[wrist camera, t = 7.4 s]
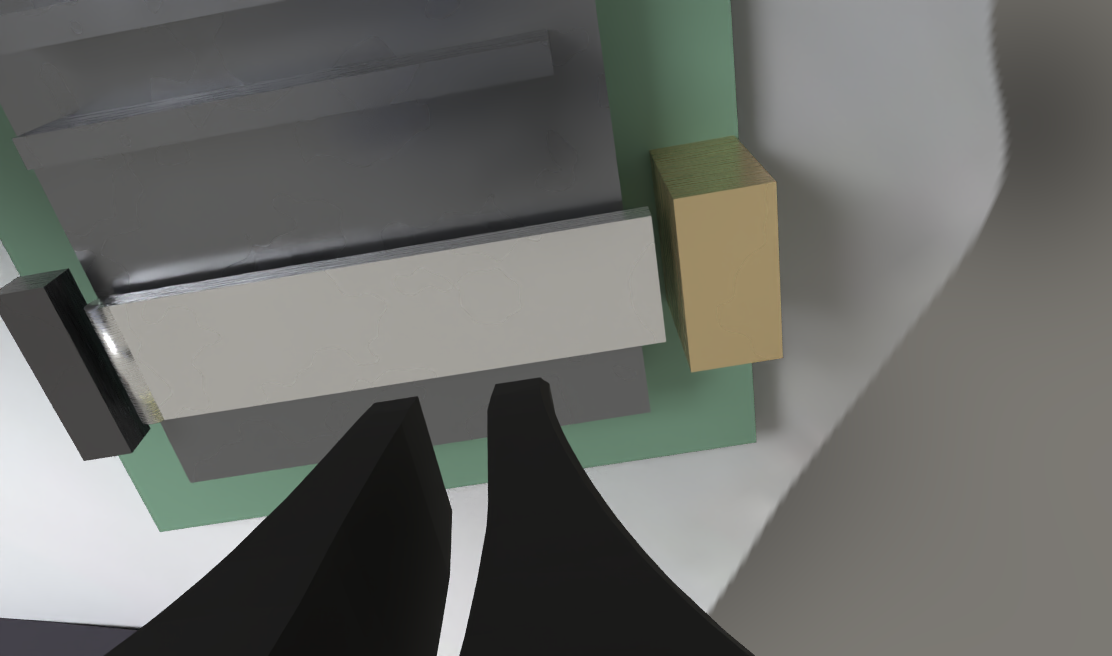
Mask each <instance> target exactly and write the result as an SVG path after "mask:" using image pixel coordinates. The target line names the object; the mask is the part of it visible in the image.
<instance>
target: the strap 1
mask: <svg viewBox="0 0 1112 656" xmlns="http://www.w3.org/2000/svg"><path fill="white" fill-rule="evenodd" d="M84 310H85V312H86V314H87V316H88V318H89V320H90V322H91V324H92V326H93V328H94V330H95V332H96V334H97V336H98V338H99V339H100V341H101V343H102V345H103V347H104V349H105V351H106V353H107V355H108V357H109V359H110V361H111V363H112V365H113V367H114V369H115V371H116V373H117V374H118V376H119V378H120V380H121V382H122V384H123V386H124V388H125V390H126V392H127V394H128V396H129V398H130V400H131V402H132V404H133V406H134V408H135V410H136V411H137V413H138V415H139V417H140V419H141V421H142V423H143V424H148V425H149V424H155V423H159V422H161V421H164V420H168V419H175V418H181V417H187V416H194V415H200V414H207V413H213V412H219V411H226V410H232V409H239V408H245V407H252V406H258V405H264V404H271V403H277V402H284V401H290V400H296V399H303V398H309V397H316V396H322V395H329V394H335V393H341V392H348V391H354V390H361V389H367V388H373V387H380V386H386V385H393V384H399V383H405V382H412V381H418V380H425V379H431V378H438V377H444V376H450V375H457V374H463V373H470V372H476V371H482V370H489V369H495V368H502V367H508V366H514V365H521V364H527V363H534V362H540V361H547V360H553V359H559V358H566V357H572V356H579V355H585V354H591V353H598V352H604V351H611V350H617V349H624V348H630V347H636V346H643V345H649V344H656V343H662V342H666V336H665V327H664V319H663V310H662V302H661V293H660V285H659V277H658V268H657V260H656V251H655V243H654V234H653V226H652V217H651V214H650V211H649V208H648V206H646V207H640V208H634V209H628V210H622V211H616V212H610V213H604V214H598V215H592V216H586V217H581V218H575V219H569V220H563V221H557V222H551V223H545V224H539V225H533V226H527V227H521V228H515V229H509V230H503V231H497V232H491V233H485V234H479V235H473V236H467V237H461V238H455V239H449V240H443V241H437V242H431V243H425V244H419V245H413V246H407V247H401V248H395V249H389V250H383V251H378V252H372V253H366V254H360V255H354V256H348V257H342V258H336V259H330V260H324V261H318V262H312V263H306V264H300V265H294V266H288V267H282V268H276V269H270V270H264V271H258V272H252V273H246V274H240V275H234V276H228V277H222V278H216V279H210V280H204V281H198V282H192V283H186V284H180V285H174V286H169V287H163V288H157V289H151V290H145V291H139V292H133V293H127V294H112V295H107V296H104V297H101V298H98V299H96V300H94V301H92V302H90V303H88V304H87V305H86V306H85V307H84Z"/></svg>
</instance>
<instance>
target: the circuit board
mask: <svg viewBox="0 0 1112 656" xmlns="http://www.w3.org/2000/svg"><path fill="white" fill-rule="evenodd" d="M595 4H596V11H597V19H598V26H599V34H600V41H601V48H602V56H603V63H604V70H605V78H606V85H607V93H608V100H609V107H610V115H611V122H612V130H613V137H614V144H615V152H616V159H617V166H618V174H619V181H620V189H621V196H622V203H623V210H628V209H634V208H640V207H646V206H648V208H649V211H650V214H651V217H652V226H653V234H654V243H655V251H656V260H657V268H658V277H659V285H660V293H661V302H662V310H663V319H664V327H665V336H666V342H662V343H656V344H649V345H643V346H642V351H643V358H644V366H645V373H646V380H647V388H648V395H649V403H650V410H651V412H649V413H642V414H636V415H629V416H623V417H616V418H610V419H603V420H597V421H590V422H584V423H577V424H571V425H564V426H561V428H562V431H563V433H564V435H565V437H566V439H567V441H568V442H569V444H570V446H571V448H572V450H573V451H574V453H575V455H576V457H577V458H578V460H579V462H580V464H581V466H582V467H583V468H589V467H595V466H602V465H609V464H615V463H622V462H629V461H635V460H642V459H648V458H655V457H662V456H668V455H675V454H682V453H688V452H695V451H702V450H708V449H715V448H722V447H728V446H735V445H741V444H748V443H755V442H756V426H755V409H754V392H753V375H752V363H748V364H742V365H735V366H729V367H722V368H716V369H710V370H703V371H697V372H691V370H690V368H689V365H688V362H687V359H686V356H685V353H684V350H683V347H682V344H681V341H680V338H679V335H678V333H677V330H676V327H675V324H674V321H673V318H672V315H671V312H670V309H669V306H668V303H667V300H666V292H665V283H664V274H663V266H662V257H661V248H660V239H659V231H658V222H657V213H656V204H655V196H654V187H653V178H652V169H651V161H650V152H649V150H653V149H659V148H665V147H670V146H676V145H682V144H688V143H693V142H699V141H705V140H711V139H716V138H722V137H728V136H735V137H736V138H737V139H738V140H739V138H738V121H737V104H736V87H735V70H734V53H733V36H732V19H731V2H730V0H595ZM14 137H17V136H16V134H15V132H14V130H13V128H12V126H11V124H10V122H9V120H8V118H7V116H6V114H5V112H4V110H3V108H2V106H1V104H0V239H1V241H2V243H3V245H4V247H5V249H6V250H7V252H8V254H9V256H10V258H11V260H12V261H13V263H14V265H15V267H16V269H17V271H18V272H19V274H20V276H26V275H32V274H38V273H44V272H50V271H55V270H61V269H67V268H69V269H70V271H71V273H72V275H73V277H74V279H75V281H76V283H77V285H78V287H79V289H80V291H81V293H82V295H83V297H84V299H85V301H86V303H87V304H88V303H90V302H92V301H94V300H96V299H98V297H97V295H96V294H95V292H94V290H93V288H92V286H91V284H90V282H89V280H88V278H87V276H86V274H85V272H84V270H83V268H82V266H81V264H80V262H79V260H78V258H77V256H76V254H75V252H74V250H73V248H72V246H71V244H70V242H69V240H68V238H67V236H66V234H65V232H64V230H63V228H62V226H61V224H60V222H59V220H58V218H57V216H56V214H55V212H54V210H53V208H52V206H51V204H50V202H49V200H48V198H47V196H46V194H45V192H44V190H43V188H42V186H41V184H40V182H39V180H38V178H37V176H36V174H35V172H34V170H33V169H31V170H27V168H26V166H25V164H24V162H23V160H22V158H21V156H20V154H19V152H18V150H17V148H16V146H15V144H14V142H13V140H12V138H14ZM149 426H150V428H151V429H150V430H149V432H148V433H147V434H146V436H145V437H144V438H143V440H142V441H141V442H140V443H139V445H138V446H137V447H136V449H135V450H134V451H133V453H131V454H124V455H118V456H119V458H120V460H121V461H122V463H123V465H124V467H125V469H126V471H127V472H128V474H129V476H130V478H131V480H132V482H133V483H134V485H135V487H136V489H137V491H138V493H139V494H140V496H141V498H142V500H143V502H144V504H145V505H146V507H147V509H148V511H149V513H150V515H151V516H152V518H153V520H154V522H155V524H156V526H157V527H158V529H159V531H160V532H163V531H170V530H177V529H183V528H190V527H197V526H203V525H210V524H217V523H223V522H230V521H237V520H243V519H250V518H256V517H263V516H268V515H269V514H270V513H271V512H272V511H273V510H274V509H276V508H277V507H278V506H279V505H280V504H281V503H282V502H283V501H284V500H285V499H286V498H287V497H288V496H289V495H290V493H291V492H292V491H293V490H294V489H295V488H296V487H297V486H298V485H299V484H300V483H301V482H302V481H303V479H304V478H305V477H306V476H307V475H308V474H309V473H310V472H311V471H312V470H313V469H314V468H315V466H316V465H317V464H311V465H305V466H298V467H292V468H285V469H279V470H272V471H266V472H259V473H253V474H246V475H240V476H233V477H227V478H220V479H214V480H207V481H201V482H194V483H190V481H189V479H188V477H187V475H186V473H185V471H184V469H183V467H182V465H181V463H180V461H179V459H178V457H177V455H176V453H175V451H174V449H173V447H172V445H171V443H170V441H169V439H168V437H167V435H166V433H165V431H164V429H163V427H162V425H161V423H160V422H159V423H155V424H149ZM433 448H434V452H435V455H436V459H437V462H438V465H439V469H440V472H441V475H442V479H443V482H444V486H445V489H449V488H456V487H462V486H469V485H476V484H482V483H488V448H487V438H480V439H474V440H467V441H461V442H454V443H448V444H441V445H435V446H433Z"/></svg>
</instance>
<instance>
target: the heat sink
mask: <svg viewBox="0 0 1112 656" xmlns="http://www.w3.org/2000/svg"><path fill="white" fill-rule="evenodd" d="M0 104H1V106H2V108H3V110H4V112H5V114H6V116H7V118H8V120H9V122H10V124H11V126H12V128H13V130H14V132H15V134H16V136H17V137H14V138H12V140H13V142H14V144H15V146H16V148H17V150H18V152H19V154H20V156H21V158H22V160H23V162H24V164H25V166H26V168H27V170H31V169H33V170H34V172H35V174H36V176H37V178H38V180H39V182H40V184H41V186H42V188H43V190H44V192H45V194H46V196H47V198H48V200H49V202H50V204H51V206H52V208H53V210H54V212H55V214H56V216H57V218H58V220H59V222H60V224H61V226H62V228H63V230H64V232H65V234H66V236H67V238H68V240H69V242H70V244H71V246H72V248H73V250H74V252H75V254H76V256H77V258H78V260H79V262H80V264H81V266H82V268H83V270H84V272H85V274H86V276H87V278H88V280H89V282H90V284H91V286H92V288H93V290H94V292H95V294H96V295H97V297H98V298H101V297H104V296H107V295H112V294H127V293H133V292H139V291H145V290H151V289H157V288H163V287H169V286H174V285H180V284H186V283H192V282H198V281H204V280H210V279H216V278H222V277H228V276H234V275H240V274H246V273H252V272H258V271H264V270H270V269H276V268H282V267H288V266H294V265H300V264H306V263H312V262H318V261H324V260H330V259H336V258H342V257H348V256H354V255H360V254H366V253H372V252H378V251H383V250H389V249H395V248H401V247H407V246H413V245H419V244H425V243H431V242H437V241H443V240H449V239H455V238H461V237H467V236H473V235H479V234H485V233H491V232H497V231H503V230H509V229H515V228H521V227H527V226H533V225H539V224H545V223H551V222H557V221H563V220H569V219H575V218H581V217H586V216H592V215H598V214H604V213H610V212H616V211H622V210H623V203H622V196H621V189H620V181H619V174H618V166H617V159H616V152H615V144H614V137H613V130H612V122H611V115H610V107H609V100H608V93H607V85H606V78H605V70H604V63H603V56H602V48H601V41H600V34H599V26H598V19H597V11H596V4H595V0H0ZM649 152H650V161H651V169H652V178H653V187H654V196H655V204H656V213H657V222H658V231H659V239H660V248H661V257H662V266H663V274H664V283H665V292H666V300H667V303H668V306H669V309H670V312H671V315H672V318H673V321H674V324H675V327H676V330H677V333H678V335H679V338H680V341H681V344H682V347H683V350H684V353H685V356H686V359H687V362H688V365H689V368H690V370H691V372H697V371H703V370H710V369H716V368H722V367H729V366H735V365H742V364H748V363H754V362H761V361H767V360H774V359H780V358H783V348H782V321H781V294H780V267H779V239H778V212H777V185H776V181H775V180H774V179H773V178H772V176H771V175H770V174H769V173H768V172H767V171H766V170H765V169H764V168H763V167H762V165H761V164H760V163H759V162H758V161H757V160H756V159H755V158H754V157H753V156H752V155H751V153H750V152H749V151H748V150H747V149H746V148H745V147H744V146H743V145H742V144H741V142H740V141H739V140H738V139H737V138H736V137H735V136H728V137H722V138H716V139H711V140H705V141H699V142H693V143H688V144H682V145H676V146H670V147H665V148H659V149H653V150H649ZM86 305H87V303H86V301H85V299H84V297H83V295H82V293H81V291H80V289H79V287H78V285H77V283H76V281H75V279H74V277H73V275H72V273H71V271H70V269H69V268H67V269H61V270H55V271H50V272H44V273H38V274H32V275H26V276H21V277H17V278H16V279H14V280H13V281H11V282H10V283H8V284H7V285H5V286H4V287H3V288H1V289H0V315H1V317H2V319H3V321H4V322H5V324H6V326H7V328H8V329H9V331H10V333H11V335H12V336H13V338H14V340H15V342H16V343H17V345H18V347H19V348H20V350H21V352H22V354H23V355H24V357H25V359H26V361H27V362H28V364H29V366H30V368H31V369H32V371H33V373H34V375H35V376H36V378H37V380H38V382H39V383H40V385H41V387H42V389H43V390H44V392H45V394H46V396H47V397H48V399H49V401H50V403H51V404H52V406H53V408H54V410H55V411H56V413H57V415H58V416H59V418H60V420H61V422H62V423H63V425H64V427H65V429H66V430H67V432H68V434H69V436H70V437H71V439H72V441H73V443H74V444H75V446H76V448H77V450H78V451H79V453H80V455H81V457H82V458H83V460H84V461H86V460H93V459H99V458H105V457H112V456H118V455H124V454H131V453H133V451H134V450H135V449H136V447H137V446H138V445H139V443H140V442H141V441H142V440H143V438H144V437H145V436H146V434H147V433H148V432H149V430H150V429H151V428H150V426H149V425H148V424H143V423H142V421H141V419H140V417H139V415H138V413H137V411H136V410H135V408H134V406H133V404H132V402H131V400H130V398H129V396H128V394H127V392H126V390H125V388H124V386H123V384H122V382H121V380H120V378H119V376H118V374H117V373H116V371H115V369H114V367H113V365H112V363H111V361H110V359H109V357H108V355H107V353H106V351H105V349H104V347H103V345H102V343H101V341H100V339H99V338H98V336H97V334H96V332H95V330H94V328H93V326H92V324H91V322H90V320H89V318H88V316H87V314H86V312H85V310H84V307H85V306H86ZM538 377H540V378H542V379H543V380H545V381H546V382H548V383H549V384H550V389H551V394H552V399H553V404H554V409H555V414H556V416H557V419H558V421H559V424H560V426H564V425H571V424H577V423H584V422H590V421H597V420H603V419H610V418H616V417H623V416H629V415H636V414H642V413H649V412H651V410H650V403H649V395H648V388H647V380H646V373H645V366H644V358H643V351H642V346H636V347H630V348H624V349H617V350H611V351H604V352H598V353H591V354H585V355H579V356H572V357H566V358H559V359H553V360H547V361H540V362H534V363H527V364H521V365H514V366H508V367H502V368H495V369H489V370H482V371H476V372H470V373H463V374H457V375H450V376H444V377H438V378H431V379H425V380H418V381H412V382H405V383H399V384H393V385H386V386H380V387H373V388H367V389H361V390H354V391H348V392H341V393H335V394H329V395H322V396H316V397H309V398H303V399H296V400H290V401H284V402H277V403H271V404H264V405H258V406H252V407H245V408H239V409H232V410H226V411H219V412H213V413H207V414H200V415H194V416H187V417H181V418H175V419H168V420H164V421H161V422H160V423H161V425H162V427H163V429H164V431H165V433H166V435H167V437H168V439H169V441H170V443H171V445H172V447H173V449H174V451H175V453H176V455H177V457H178V459H179V461H180V463H181V465H182V467H183V469H184V471H185V473H186V475H187V477H188V479H189V481H190V483H194V482H201V481H207V480H214V479H220V478H227V477H233V476H240V475H246V474H253V473H259V472H266V471H272V470H279V469H285V468H292V467H298V466H305V465H311V464H318V463H319V462H320V461H321V460H322V459H323V458H324V457H325V456H326V455H327V453H328V452H329V451H330V450H331V449H332V448H333V447H334V446H335V444H336V443H337V442H338V441H339V440H340V439H341V438H342V437H343V436H344V434H345V433H346V432H347V431H348V430H349V429H350V428H351V427H352V426H353V425H354V423H355V422H356V421H357V420H358V419H359V418H360V417H361V416H362V415H363V414H364V413H365V412H366V411H367V410H368V409H369V408H370V407H371V406H372V405H373V404H374V403H376V402H383V401H389V400H396V399H402V398H409V397H415V396H418V398H419V401H420V405H421V408H422V411H423V415H424V418H425V422H426V425H427V428H428V432H429V435H430V438H431V442H432V445H433V446H435V445H441V444H448V443H454V442H461V441H467V440H474V439H480V438H487V409H488V406H489V402H490V398H491V395H492V392H493V389H494V387H495V384H499V383H506V382H512V381H519V380H525V379H532V378H538Z"/></svg>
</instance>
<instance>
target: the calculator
mask: <svg viewBox="0 0 1112 656" xmlns="http://www.w3.org/2000/svg"><path fill="white" fill-rule="evenodd" d="M136 631H138V630H130V629H119V628H108V627H98V626H87V625H77V624H66V623H56V622H45V621H34V620H21V619H7V618H0V656H104V655H105V654H106V653H108V652H109V651H110V650H112V649H113V648H114V647H116V646H117V645H118V644H120V643H121V642H123V641H124V640H125V639H127V638H128V637H129V636H131V635H132V634H133V633H135V632H136Z"/></svg>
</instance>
